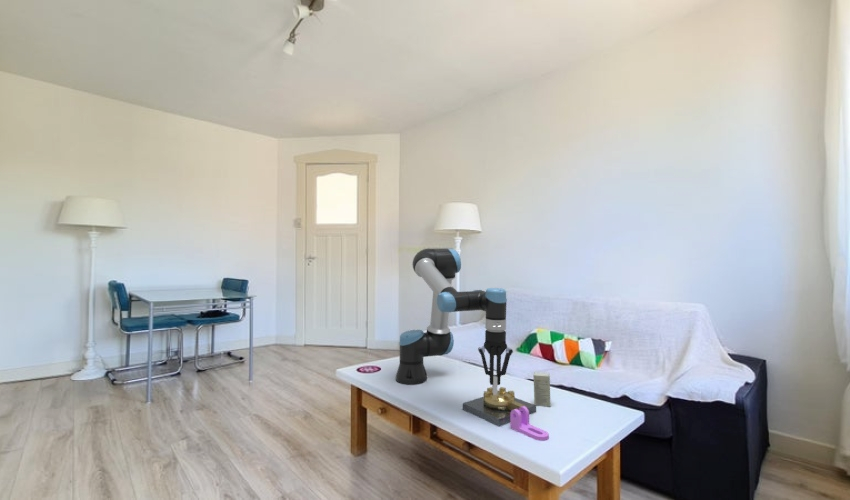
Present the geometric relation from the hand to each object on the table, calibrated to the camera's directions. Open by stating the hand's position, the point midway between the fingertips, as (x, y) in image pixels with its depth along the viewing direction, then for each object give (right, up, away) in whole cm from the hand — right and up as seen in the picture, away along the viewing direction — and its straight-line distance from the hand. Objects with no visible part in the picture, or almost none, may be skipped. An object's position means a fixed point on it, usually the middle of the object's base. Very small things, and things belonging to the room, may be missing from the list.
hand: (494, 393), depth 144 cm
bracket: (+10, -9, -12) cm, 18 cm away
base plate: (+4, -9, +5) cm, 11 cm away
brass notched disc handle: (+5, -6, +3) cm, 9 cm away
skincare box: (+22, -10, +13) cm, 27 cm away
